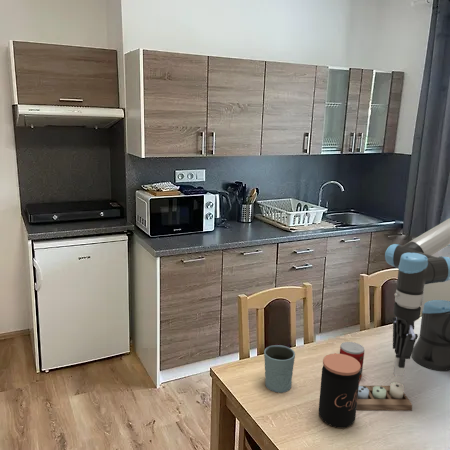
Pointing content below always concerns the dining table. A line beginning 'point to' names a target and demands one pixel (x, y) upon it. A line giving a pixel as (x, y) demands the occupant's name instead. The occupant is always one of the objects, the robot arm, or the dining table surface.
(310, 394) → the dining table surface
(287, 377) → the teal cup
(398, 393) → the one-pip button
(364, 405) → the button board
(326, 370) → the coffee jar
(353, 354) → the canned food
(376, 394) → the two-pip button
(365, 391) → the three-pip button
